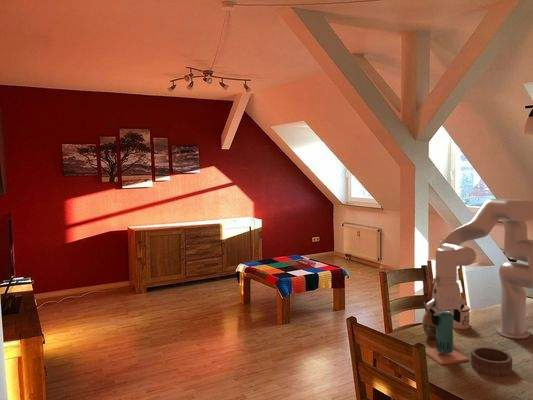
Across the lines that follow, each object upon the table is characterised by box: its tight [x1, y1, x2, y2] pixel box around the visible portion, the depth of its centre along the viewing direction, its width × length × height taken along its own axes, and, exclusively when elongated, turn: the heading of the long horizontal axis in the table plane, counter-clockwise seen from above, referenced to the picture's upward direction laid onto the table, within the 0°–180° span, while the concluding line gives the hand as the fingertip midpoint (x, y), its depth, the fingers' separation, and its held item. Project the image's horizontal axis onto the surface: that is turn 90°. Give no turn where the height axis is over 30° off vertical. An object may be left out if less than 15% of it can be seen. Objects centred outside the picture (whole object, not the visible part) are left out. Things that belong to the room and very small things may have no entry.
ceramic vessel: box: [421, 281, 440, 340], centre depth 186 cm, size 16×9×25 cm, turn 138°
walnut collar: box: [470, 346, 513, 378], centre depth 158 cm, size 13×13×5 cm
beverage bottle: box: [435, 310, 454, 353], centre depth 168 cm, size 6×7×20 cm
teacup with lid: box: [448, 304, 471, 330], centre depth 200 cm, size 12×9×12 cm
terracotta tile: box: [425, 347, 469, 366], centre depth 169 cm, size 12×12×1 cm
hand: (446, 322), depth 168 cm, fingers open, 9 cm apart
